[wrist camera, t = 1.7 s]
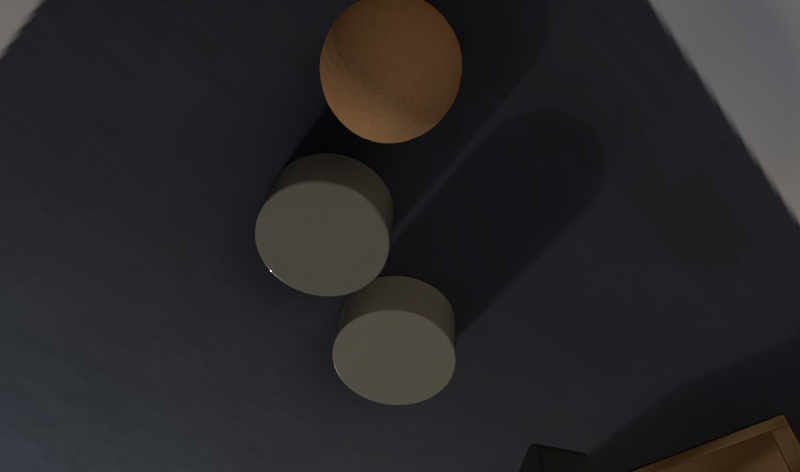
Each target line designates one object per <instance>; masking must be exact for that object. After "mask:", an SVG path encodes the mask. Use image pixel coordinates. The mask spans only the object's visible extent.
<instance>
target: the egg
mask: <svg viewBox="0 0 800 472" xmlns="http://www.w3.org/2000/svg"><path fill="white" fill-rule="evenodd" d="M461 74H462V55H461V50H460V46H459V42H458V40H457V38H456V35H455V33H454V31H453V29H452V28H451V26H450V25H449V24H448V22H447V21H446V19H445V18H444V16H443V15H442V14H441V13H440V12H438V11H437V10H436V9H435V8H434V7H433V6H431V5H430V4H428V3H427V2H425V1H424V0H361V1H358V2H356V3H354V4H353V5H352V6H350V7H349V8H348V9H346V10H345V11H344V12H342V14H341V15H340V16H339V17H338V18H337V19H336V21H335V22H334V23H333V25H332V27H331V28H330V30H329V32H328V34H327V36H326V40H325V43H324V46H323V49H322V53H321V59H320V76H321V83H322V88H323V91H324V94H325V98H326V101H327V102H328V104H329V106H330V108H331V110H332V112H333V113H334V114H335V115H336V116H337V118H338V119H339V120H340V121H341V122H342V124H343V125H345V126H346V127H347V128H348V129H349V130H350V131H352V132H353V133H355V134H357V135H359V136H360V137H362V138H365V139H368V140H370V141H374V142H380V143H399V142H404V141H408V140H410V139H413V138H415V137H418V136H420V135H422V134H424V133H426V132H427V131H429V130H430V129H432V128H433V127H434V126H435V125H436V124H437V123H438V122H439V121H440V120H441V119H442V118H443V117H444V115H445V114H446V113H447V111H448V110H449V108H450V107H451V106H452V104H453V102H454V100H455V97H456V95H457V93H458V89H459V84H460V79H461Z"/></svg>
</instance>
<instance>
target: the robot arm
mask: <svg viewBox="0 0 800 472" xmlns="http://www.w3.org/2000/svg"><path fill="white" fill-rule="evenodd" d="M519 472H592V468H591V463H590V460H589V458H588V456H587V455H586V454H585V453H581V452H576V451H571V450H565V449H560V448H555V447H549V446H544V445H539V444H532V445H531V446H530V447H529V449H528V451H527V453H526V455H525V458H524V460H523V463H522V465H521V468H520V470H519Z"/></svg>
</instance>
